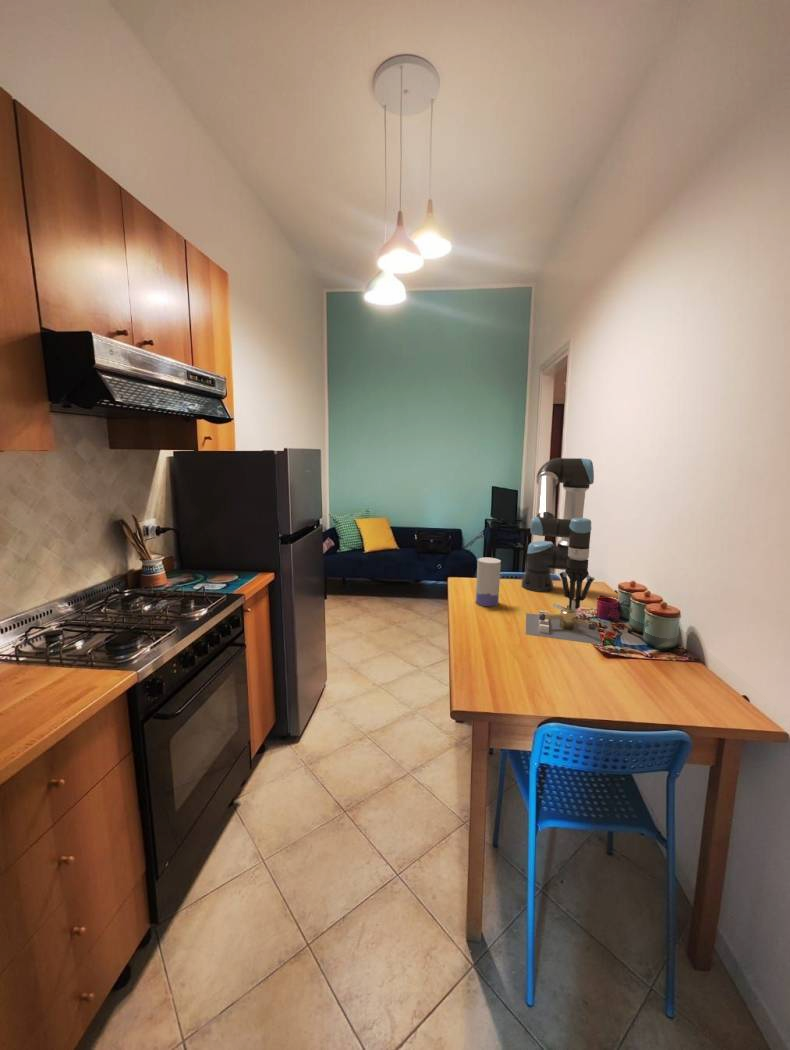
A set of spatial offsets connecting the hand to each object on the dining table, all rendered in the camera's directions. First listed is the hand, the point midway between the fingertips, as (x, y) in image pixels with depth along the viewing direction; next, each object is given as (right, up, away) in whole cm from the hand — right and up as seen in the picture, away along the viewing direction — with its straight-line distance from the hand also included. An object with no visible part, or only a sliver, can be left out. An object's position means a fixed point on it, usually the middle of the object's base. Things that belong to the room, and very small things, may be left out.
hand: (573, 615), depth 170 cm
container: (-30, +1, +22) cm, 37 cm away
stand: (-7, -4, -6) cm, 11 cm away
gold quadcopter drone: (-4, -3, -8) cm, 10 cm away
